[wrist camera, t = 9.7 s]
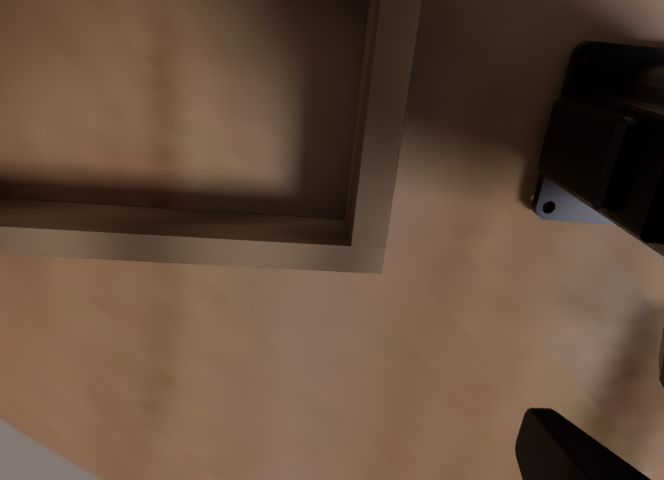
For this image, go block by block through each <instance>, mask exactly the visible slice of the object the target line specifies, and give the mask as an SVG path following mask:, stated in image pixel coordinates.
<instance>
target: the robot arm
mask: <svg viewBox="0 0 664 480" xmlns="http://www.w3.org/2000/svg"><path fill="white" fill-rule="evenodd" d="M588 50H591V52H592V57H591V59H590V61H589V62H587V63H585V62H584V61H583V60H584V55H585V53H586V52H587V51H588ZM538 169H539V171H540V176H539V179H538V183H537V187H536V191H535V195H534V198H533V202H532V209H533V212H534V213H535V214H537V215H538V216H539V217H540V218H541V219H545V220H559V221H575V222H590V223H606V224H616V225H617V226H619V227H620V228H622V229H623V230H625V231H626V232H628V233H629V234H631V235H632V236H634V237H635V238H637V239H638V240H640V241H641V242H643V243H644V244H646V245H647V246H649V247H650V248H651V249H653V250H654V251H656V252H657V253H659V254H660V255H662V256H663V257H664V48H654V47H644V46H634V45H624V44H615V43H605V42H595V41H584V42H582V43H580V44H578V45H577V46H576V47H575V48H574V50H573V52H572V54H571V58H570V61H569V65H568V69H567V73H566V77H565V80H564V84H563V88H562V92H561V96H560V98H559V99H558V100H557V101H556V102H555V103H554V106H553V110H552V113H551V117H550V121H549V125H548V129H547V133H546V136H545V140H544V144H543V148H542V152H541V156H540V160H539V163H538ZM549 201H551V205H550V207H549V208H548V209H546V210H543V205H544V204H545V203H546V202H549ZM659 380H660V382H661V384H662V386H663V387H664V328H663V334H662V341H661V347H660V353H659ZM515 453H516V458H517V462H518V465H519V469H520V472H521V475H522V479H523V480H651V479H649V478H648V477H646V476H645V475H644V474H642V473H641V472H639V471H638V470H637V469H635V468H634V467H633V466H631V465H630V464H628V463H627V462H626V461H624V460H623V459H621V458H620V457H619V456H617V455H616V454H614V453H613V452H612V451H610V450H609V449H608V448H606V447H605V446H603V445H602V444H601V443H599V442H598V441H596V440H595V439H594V438H592V437H591V436H589V435H588V434H587V433H585V432H584V431H582V430H581V429H580V428H578V427H577V426H576V425H574V424H573V423H571V422H570V421H569V420H567V419H566V418H564V417H563V416H562V415H560V414H559V413H557V412H556V411H554V410H553V409H550V408H530V409H528V410H527V411H526V412H525V414H524V417H523V421H522V424H521V427H520V430H519V434H518V437H517V440H516V445H515Z"/></svg>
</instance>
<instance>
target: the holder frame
mask: <svg viewBox="0 0 664 480" xmlns="http://www.w3.org/2000/svg"><path fill="white" fill-rule="evenodd" d="M421 4H422V0H369V4H368V13H367V22H366V31H365V40H364V49H363V58H362V67H361V76H360V85H359V94H358V103H357V112H356V121H355V130H354V139H353V148H352V157H351V166H350V176H349V185H348V194H347V203H346V212H345V220H344V219H327V218H311V217H295V216H279V215H263V214H247V213H230V212H214V211H198V210H182V209H166V208H150V207H133V206H117V205H101V204H85V203H69V202H53V201H36V200H20V199H4V198H0V254H9V255H28V256H48V257H67V258H86V259H106V260H125V261H144V262H164V263H183V264H202V265H222V266H241V267H261V268H280V269H299V270H319V271H338V272H357V273H377V274H382V267H383V260H384V253H385V247H386V240H387V233H388V226H389V220H390V213H391V206H392V199H393V193H394V186H395V179H396V172H397V166H398V159H399V152H400V145H401V139H402V132H403V125H404V118H405V112H406V105H407V98H408V91H409V85H410V78H411V71H412V65H413V58H414V51H415V44H416V38H417V31H418V24H419V17H420V11H421Z"/></svg>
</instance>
